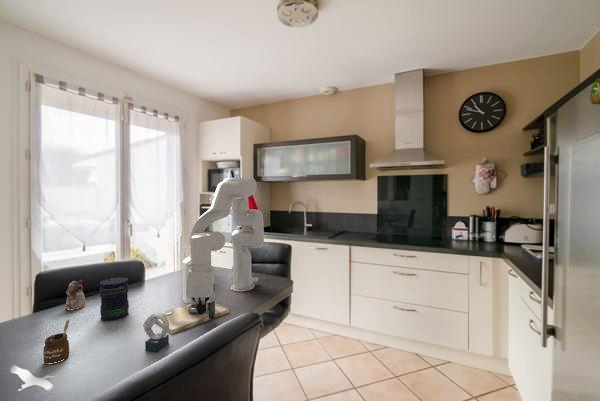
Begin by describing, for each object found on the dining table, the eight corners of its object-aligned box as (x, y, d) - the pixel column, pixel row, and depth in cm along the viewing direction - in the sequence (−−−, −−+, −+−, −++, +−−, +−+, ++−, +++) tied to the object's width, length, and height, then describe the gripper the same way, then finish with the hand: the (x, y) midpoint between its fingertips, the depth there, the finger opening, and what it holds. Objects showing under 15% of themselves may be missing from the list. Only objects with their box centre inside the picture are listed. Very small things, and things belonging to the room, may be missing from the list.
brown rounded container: (51, 355, 87) (50, 317, 87) (74, 352, 89) (73, 315, 88) (38, 366, 81) (37, 326, 81) (63, 363, 83) (62, 324, 83)
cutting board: (206, 301, 130) (206, 296, 130) (228, 312, 118) (228, 307, 118) (151, 319, 112) (151, 313, 112) (171, 334, 100) (171, 327, 100)
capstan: (183, 309, 118) (183, 291, 117) (201, 303, 123) (201, 286, 123) (203, 322, 105) (203, 302, 105) (222, 315, 111) (222, 296, 111)
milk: (186, 304, 128) (185, 256, 127) (182, 300, 132) (181, 254, 132) (199, 301, 131) (198, 254, 130) (195, 297, 136) (194, 252, 135)
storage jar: (134, 312, 118) (133, 278, 118) (112, 323, 109) (111, 285, 109) (117, 309, 122) (116, 276, 121) (94, 319, 112) (93, 282, 112)
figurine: (63, 307, 124) (63, 281, 124) (83, 303, 129) (83, 277, 129) (66, 312, 119) (65, 284, 119) (86, 307, 125) (86, 280, 124)
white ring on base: (153, 341, 95) (152, 309, 95) (173, 344, 93) (172, 311, 93) (140, 350, 90) (139, 316, 90) (161, 353, 88) (160, 319, 88)
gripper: (177, 269, 105) (178, 317, 105) (216, 269, 104) (217, 317, 104) (186, 264, 112) (187, 309, 112) (223, 264, 111) (223, 309, 112)
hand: (201, 313), depth 108 cm, fingers closed
